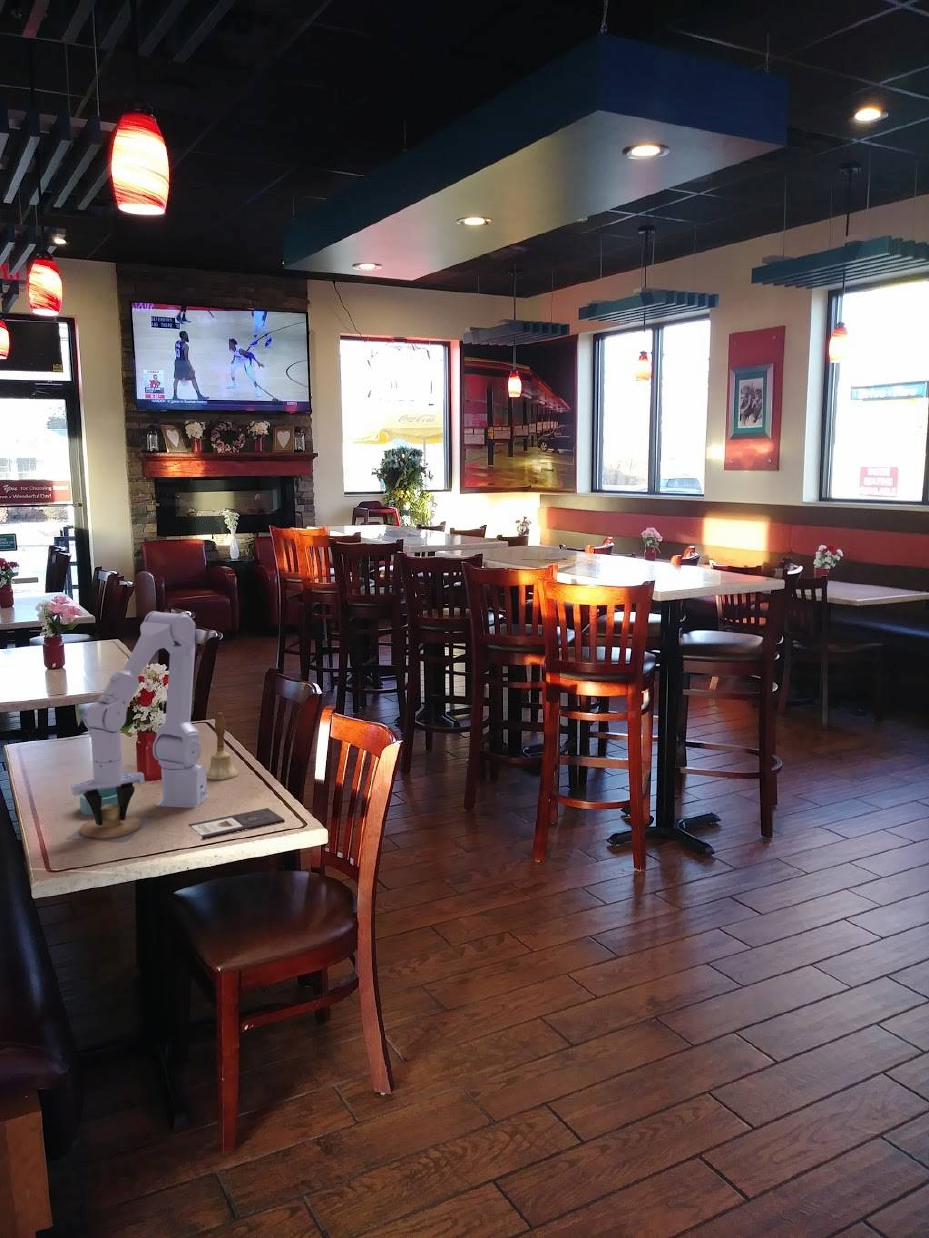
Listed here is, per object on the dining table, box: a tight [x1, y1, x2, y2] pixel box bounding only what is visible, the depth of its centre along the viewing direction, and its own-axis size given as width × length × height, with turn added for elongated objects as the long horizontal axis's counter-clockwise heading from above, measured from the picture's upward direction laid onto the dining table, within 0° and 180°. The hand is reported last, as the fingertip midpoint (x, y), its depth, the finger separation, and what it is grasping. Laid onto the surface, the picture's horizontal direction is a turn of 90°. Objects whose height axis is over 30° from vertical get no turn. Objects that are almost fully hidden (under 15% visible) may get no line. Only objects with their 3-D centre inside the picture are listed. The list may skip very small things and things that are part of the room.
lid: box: [79, 804, 141, 839], centre depth 206 cm, size 12×12×5 cm
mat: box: [65, 818, 154, 843], centre depth 206 cm, size 13×13×1 cm
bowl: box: [79, 787, 118, 817], centre depth 219 cm, size 9×9×4 cm
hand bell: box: [206, 711, 239, 781], centre depth 243 cm, size 8×8×16 cm
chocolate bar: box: [188, 807, 285, 840], centre depth 210 cm, size 9×1×18 cm
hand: (110, 821), depth 206 cm, fingers closed on lid, 4 cm apart
